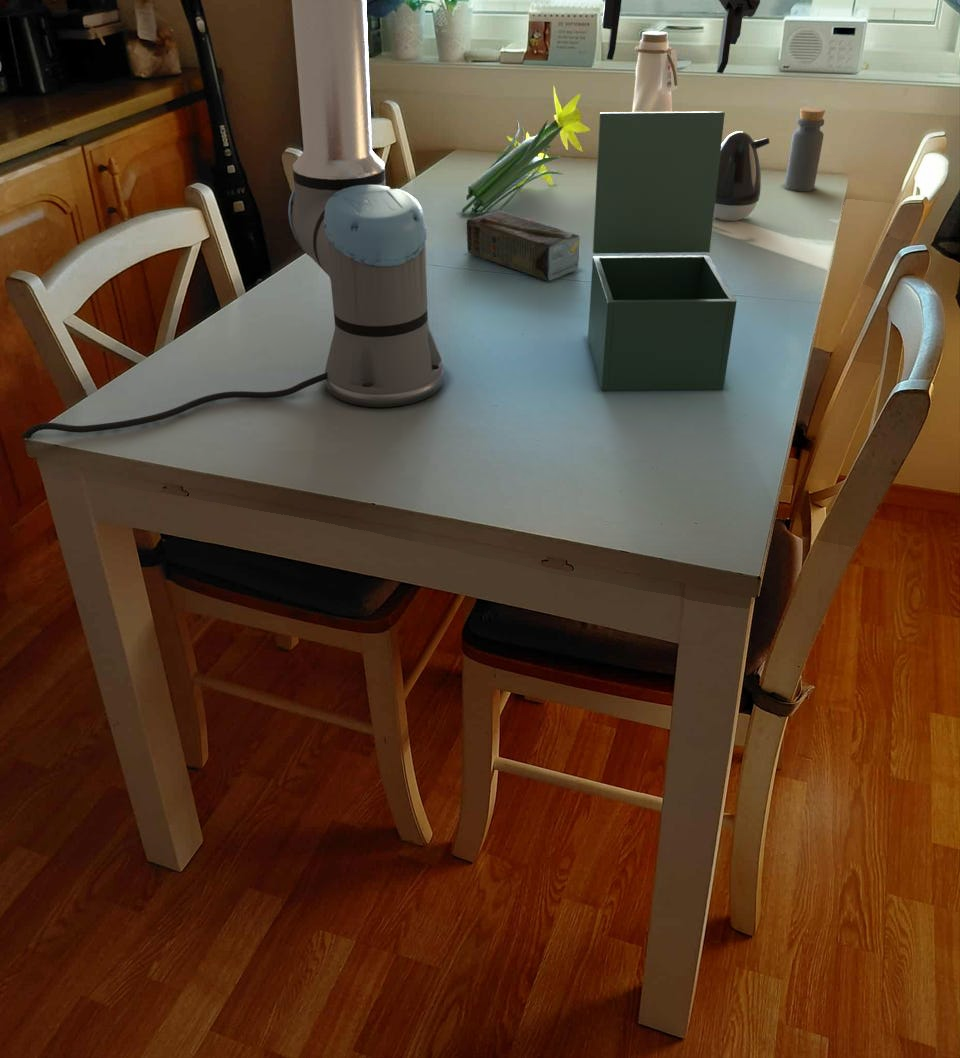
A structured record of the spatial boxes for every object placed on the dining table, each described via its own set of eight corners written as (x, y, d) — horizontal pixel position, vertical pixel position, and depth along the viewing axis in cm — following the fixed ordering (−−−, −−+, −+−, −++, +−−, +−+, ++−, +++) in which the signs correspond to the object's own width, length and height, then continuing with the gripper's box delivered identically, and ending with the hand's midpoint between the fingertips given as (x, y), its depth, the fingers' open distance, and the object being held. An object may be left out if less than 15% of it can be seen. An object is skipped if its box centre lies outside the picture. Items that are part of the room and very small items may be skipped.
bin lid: (724, 112, 122) (723, 111, 123) (600, 113, 122) (599, 112, 123) (709, 252, 131) (708, 251, 132) (593, 253, 131) (592, 252, 132)
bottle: (778, 185, 202) (791, 107, 193) (803, 182, 203) (817, 105, 195) (794, 192, 197) (808, 113, 189) (819, 190, 199) (834, 111, 190)
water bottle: (676, 180, 205) (692, 32, 189) (659, 191, 199) (674, 38, 183) (631, 173, 209) (643, 28, 193) (613, 183, 203) (624, 34, 187)
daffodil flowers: (431, 211, 191) (527, 127, 208) (489, 258, 191) (580, 171, 208) (454, 147, 176) (556, 64, 193) (517, 198, 176) (613, 110, 193)
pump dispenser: (756, 227, 179) (770, 140, 170) (699, 222, 181) (709, 136, 173) (758, 211, 187) (771, 127, 178) (703, 207, 189) (713, 124, 181)
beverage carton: (547, 283, 156) (548, 242, 152) (464, 255, 167) (463, 216, 163) (580, 270, 160) (582, 230, 157) (497, 244, 172) (497, 206, 168)
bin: (723, 389, 125) (736, 301, 118) (601, 390, 124) (607, 302, 118) (697, 337, 138) (708, 255, 132) (587, 338, 138) (592, 256, 131)
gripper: (781, -80, 122) (760, 87, 122) (584, -104, 123) (562, 63, 123) (800, -121, 115) (777, 58, 115) (589, -145, 115) (566, 32, 115)
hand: (666, 61), depth 119 cm, fingers open, 13 cm apart
